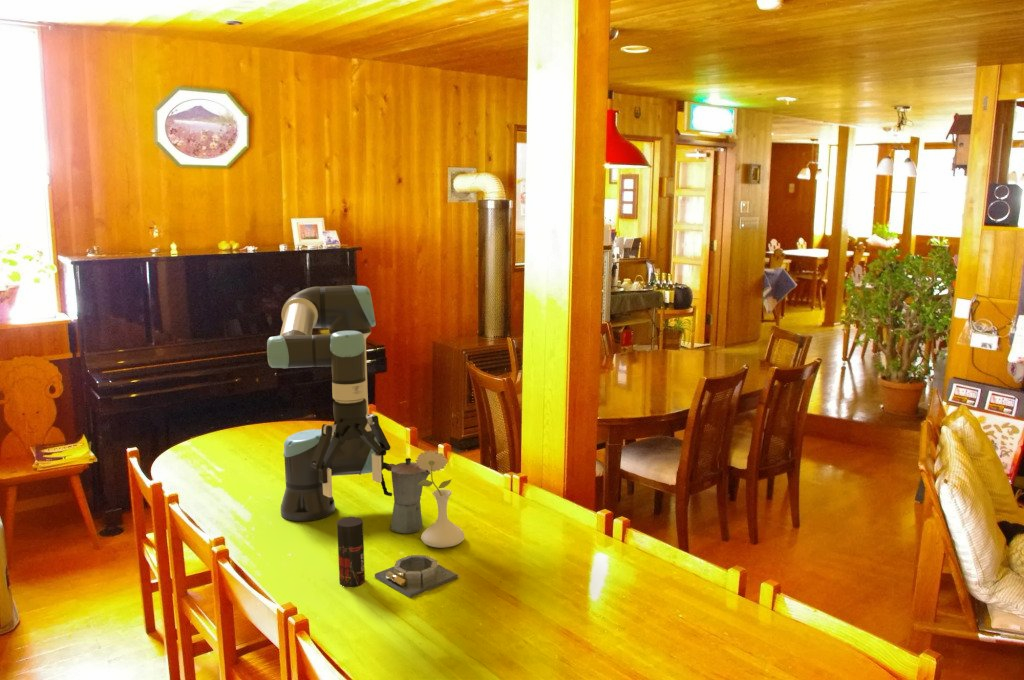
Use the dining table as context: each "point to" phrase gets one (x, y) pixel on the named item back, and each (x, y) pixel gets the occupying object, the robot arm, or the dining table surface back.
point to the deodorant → (351, 551)
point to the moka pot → (406, 495)
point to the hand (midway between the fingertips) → (353, 488)
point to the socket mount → (415, 575)
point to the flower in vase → (439, 505)
